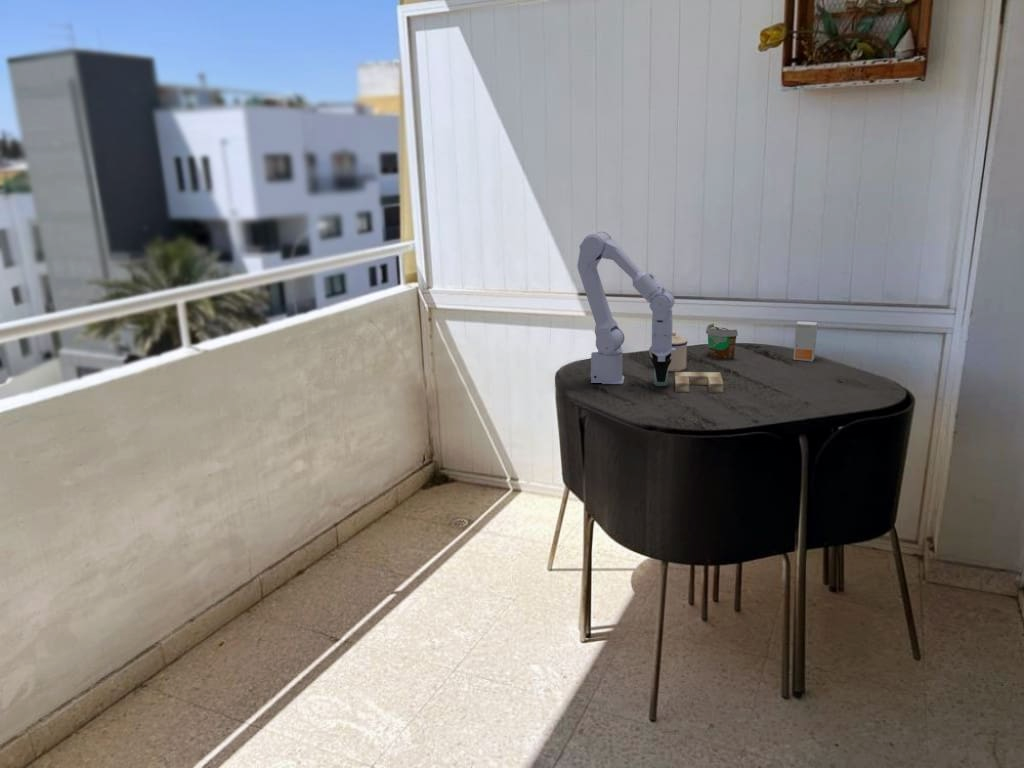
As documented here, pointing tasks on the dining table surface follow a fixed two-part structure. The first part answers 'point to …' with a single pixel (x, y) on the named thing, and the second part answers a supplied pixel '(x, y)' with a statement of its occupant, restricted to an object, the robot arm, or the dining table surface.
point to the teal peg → (660, 382)
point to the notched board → (698, 381)
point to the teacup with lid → (677, 353)
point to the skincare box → (805, 341)
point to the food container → (721, 342)
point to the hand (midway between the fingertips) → (661, 379)
